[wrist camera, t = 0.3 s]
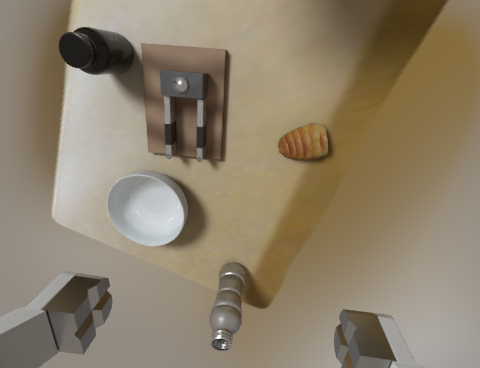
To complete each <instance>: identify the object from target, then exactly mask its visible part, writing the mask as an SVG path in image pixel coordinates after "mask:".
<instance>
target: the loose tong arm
mask: <svg viewBox="0 0 480 368" xmlns="http://www.w3.org/2000/svg"><path fill="white" fill-rule="evenodd" d="M206 112H207V98H203V99H198V100H197V136H196V148H197V161H198V162H201V161H202V160H203V159H204V157H205V156H206V139H207V124H206Z"/></svg>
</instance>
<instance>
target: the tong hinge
mask: <svg viewBox="0 0 480 368" xmlns="http://www.w3.org/2000/svg"><path fill="white" fill-rule="evenodd" d="M160 86H161V95H162V96H173V97H185V98H196V99H203V98H206V97H208V73H199V72H187V71H175V70H160Z"/></svg>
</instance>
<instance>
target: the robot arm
mask: <svg viewBox="0 0 480 368" xmlns="http://www.w3.org/2000/svg"><path fill="white" fill-rule="evenodd" d="M109 287H110V283H109V279H108V278H105V277H99V276H93V275H87V274H81V273H73V272H67V271H66V272H63V273H61V274H60V275H59V276H58V277H57V278H56V279H55V280H54V281H53V282H51V283H50V284H49V285H48V286H47V287H46V288H45V289H44V290H43V291H42V292H41V293H40V294H39V295H38V296H37V297H36V298H35V299H34V300H33V301H32V302H31V303H30V304H29V305H28V306H27V307H26V308H24V307H20V308H18V309H16V310H14V311H12V312H10V313H8V314H6V315H3V316H1V317H0V368H38V367H40V366H41V365H42V364H44V363H45V362H47V361H48V360H49V359H51V358H52V357H53V356H55V355H56V354H57V353H58V351H60V352H68V353H77V354H84V353H85V351H86V350H87V348H88V347H89V345H90V344H91V342H92V341H93V339H94V338H95V336H96V328H98V327H99V326H101V325H102V324H104V322H105V321H106V319H107V318H108V316H109V313H110V311H111V308H112V296H111V294H110V293H109V292H108V291H107V289H108V288H109ZM339 318H340V322H341V324H340V325H338V326H337V327H336V330H335V334H334V347H335V353H336V358H337V359H338V360H339V361H340V363H341V364H342V367H341V368H424V367H423V366H420V365H417V364H416V362H415V360H414V358H413V356H412V354H411V352H410V350H409V349H408V346H407V344H406V342H405V340H404V338H403V336H402V334H401V332H400V331H399V329H398V327H397V325H396V323H395V321H394V319H393V317H391V316H390V315H384V314H376V313H374V314H373V313H369V312H360V311H353V310H345V309H343V310H342V311H341V314H340V317H339Z"/></svg>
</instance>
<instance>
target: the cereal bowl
mask: <svg viewBox="0 0 480 368" xmlns="http://www.w3.org/2000/svg"><path fill="white" fill-rule="evenodd" d="M107 211H108V215H109V218H110V220H111V222H112V223H113V225H114V226H115V227H116V229H117V230H118V231H119V232H120V233H121V234H122V235H124V236H125V237H126V238H128V239H129V240H131V241H133V242H135V243H138V244H141V245H145V246H161V245H165V244H167V243H170V242H171V241H173V240H174V239H175V238H176V237H177V236H178V235H179V234H180V232H181V231H182V229H183V228H184V226H185V223H186V220H187V215H188V205H187V201H186V197H185V195H184V193H183V191H182V190H181V188H180V187H179V186H178V185H177V183H175V182H174V181H173V180H172V179H170V178H169V177H168V176H166V175H164V174H161V173H159V172H155V171H149V170H143V171H136V172H132V173H129V174H127V175H125V176H123V177H122V178H120V179H119V180H118V181H117V182H115V183H114V184H113V186H112V187H111V189H110V191H109V193H108V196H107Z"/></svg>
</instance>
